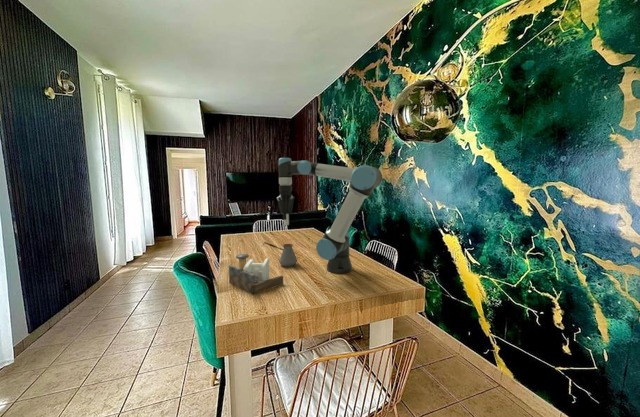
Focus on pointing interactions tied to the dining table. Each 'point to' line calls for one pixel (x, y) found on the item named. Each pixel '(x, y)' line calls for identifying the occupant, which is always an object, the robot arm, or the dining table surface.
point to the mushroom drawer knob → (242, 260)
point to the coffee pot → (286, 255)
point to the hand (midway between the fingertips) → (286, 224)
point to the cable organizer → (258, 269)
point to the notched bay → (251, 281)
